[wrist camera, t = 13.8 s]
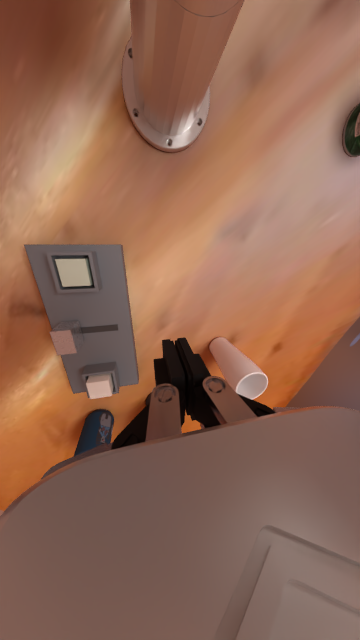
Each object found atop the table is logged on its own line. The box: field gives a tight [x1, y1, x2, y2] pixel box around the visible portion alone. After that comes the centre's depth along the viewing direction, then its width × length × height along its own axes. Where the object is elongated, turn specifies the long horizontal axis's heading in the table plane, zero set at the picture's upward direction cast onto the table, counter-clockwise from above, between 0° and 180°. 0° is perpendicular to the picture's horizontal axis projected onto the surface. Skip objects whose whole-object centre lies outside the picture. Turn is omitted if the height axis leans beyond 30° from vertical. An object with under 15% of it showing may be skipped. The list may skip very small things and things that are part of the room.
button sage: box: [55, 258, 94, 287], centre depth 27 cm, size 4×4×3 cm
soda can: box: [74, 409, 114, 456], centre depth 40 cm, size 7×7×12 cm
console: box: [24, 245, 139, 398], centre depth 33 cm, size 30×14×6 cm, turn 0°
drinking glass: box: [209, 337, 268, 400], centre depth 37 cm, size 7×7×15 cm
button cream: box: [86, 373, 114, 399], centre depth 34 cm, size 4×4×3 cm
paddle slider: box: [50, 321, 84, 355], centre depth 30 cm, size 4×3×4 cm
